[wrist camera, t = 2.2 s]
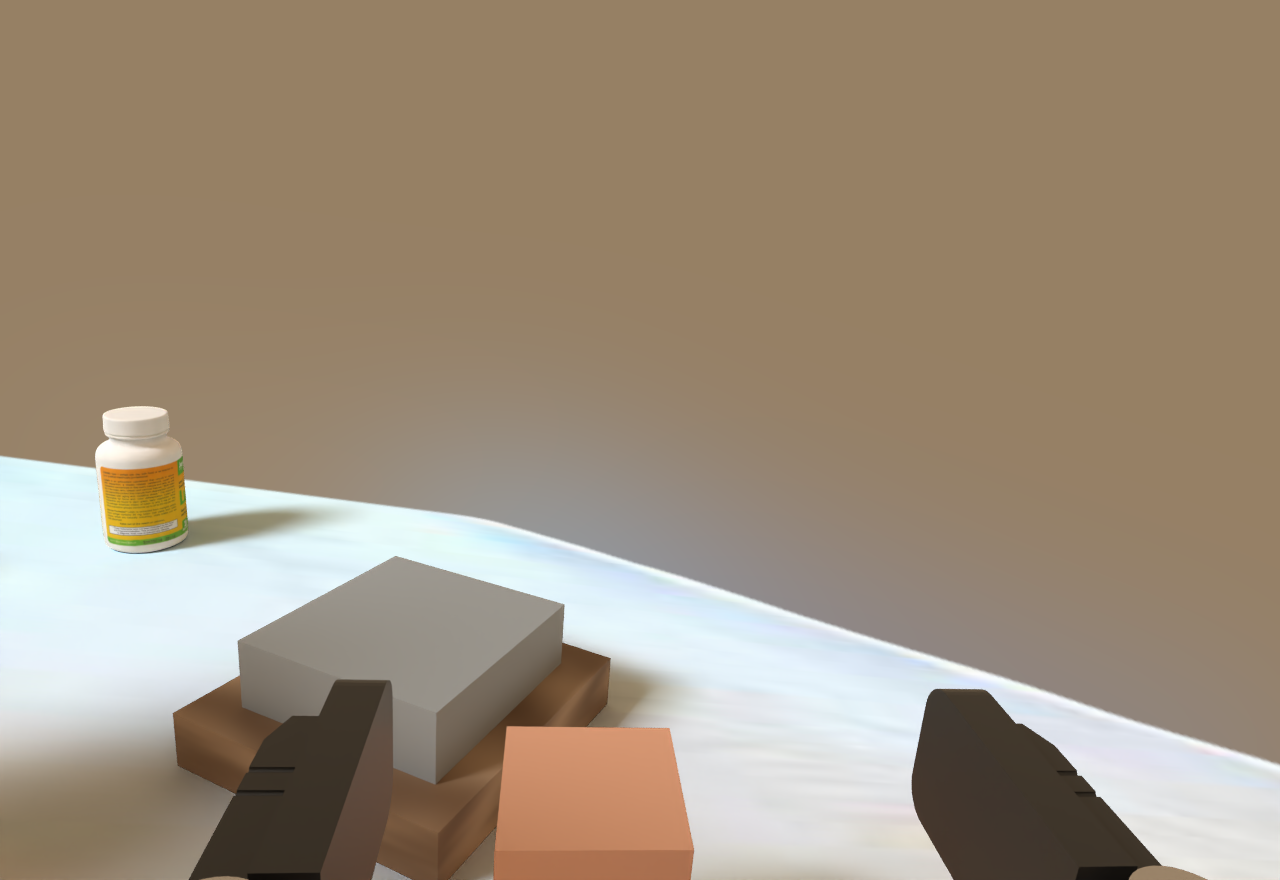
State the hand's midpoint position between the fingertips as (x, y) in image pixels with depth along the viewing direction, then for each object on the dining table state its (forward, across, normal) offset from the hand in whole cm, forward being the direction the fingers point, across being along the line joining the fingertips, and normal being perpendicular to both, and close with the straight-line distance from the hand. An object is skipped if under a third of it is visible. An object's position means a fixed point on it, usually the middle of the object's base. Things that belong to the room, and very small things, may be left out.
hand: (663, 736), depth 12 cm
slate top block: (+27, +8, +17) cm, 33 cm away
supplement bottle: (+50, +31, +20) cm, 62 cm away
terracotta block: (+11, 0, +20) cm, 23 cm away
